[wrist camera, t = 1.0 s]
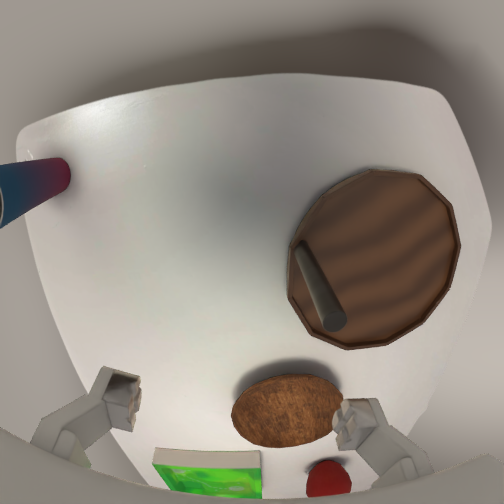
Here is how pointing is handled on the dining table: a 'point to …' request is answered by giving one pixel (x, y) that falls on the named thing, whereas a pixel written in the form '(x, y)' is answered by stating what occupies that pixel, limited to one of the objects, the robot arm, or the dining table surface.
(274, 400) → the bowl
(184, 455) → the green flat block
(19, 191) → the cup
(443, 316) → the dining table surface
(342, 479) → the apple
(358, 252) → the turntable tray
